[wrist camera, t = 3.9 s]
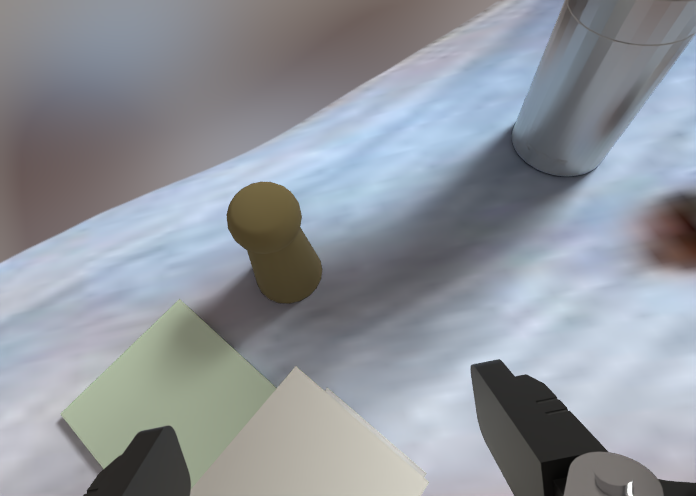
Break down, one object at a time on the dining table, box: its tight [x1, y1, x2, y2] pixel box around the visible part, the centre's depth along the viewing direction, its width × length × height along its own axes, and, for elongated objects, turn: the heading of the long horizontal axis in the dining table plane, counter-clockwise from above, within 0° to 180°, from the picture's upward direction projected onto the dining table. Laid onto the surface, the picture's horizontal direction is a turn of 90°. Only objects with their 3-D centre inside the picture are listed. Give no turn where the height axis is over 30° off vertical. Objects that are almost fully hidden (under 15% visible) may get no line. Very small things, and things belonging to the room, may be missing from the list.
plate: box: [61, 299, 277, 489], centre depth 32 cm, size 12×12×1 cm
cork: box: [227, 182, 322, 304], centre depth 32 cm, size 6×6×11 cm
